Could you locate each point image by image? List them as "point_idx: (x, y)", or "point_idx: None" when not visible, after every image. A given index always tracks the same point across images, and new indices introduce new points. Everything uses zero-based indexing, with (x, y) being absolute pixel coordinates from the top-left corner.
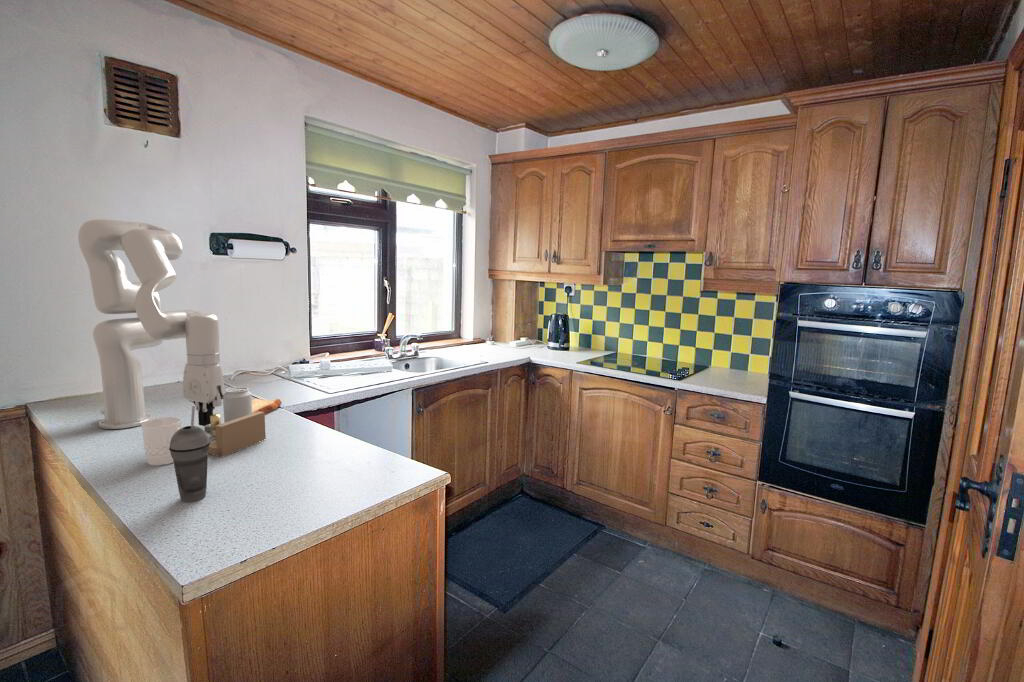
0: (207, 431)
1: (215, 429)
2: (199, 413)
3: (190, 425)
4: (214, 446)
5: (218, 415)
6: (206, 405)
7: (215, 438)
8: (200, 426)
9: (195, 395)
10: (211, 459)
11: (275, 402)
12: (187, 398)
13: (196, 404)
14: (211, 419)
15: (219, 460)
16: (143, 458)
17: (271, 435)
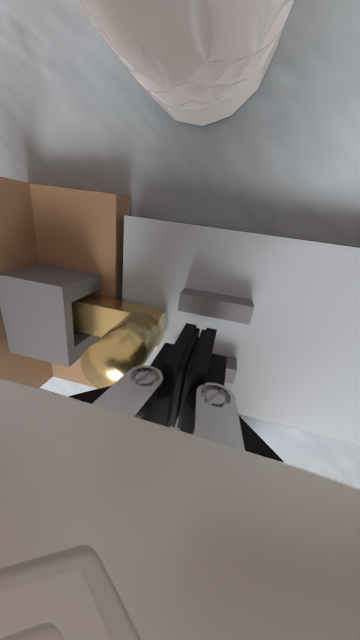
0: (221, 355)
1: (125, 315)
2: (194, 362)
3: (353, 411)
4: (54, 200)
5: (81, 364)
6: (95, 400)
7: (127, 288)
8: (296, 404)
9: (99, 516)
10: (40, 145)
11: None
12: (337, 492)
13: (226, 430)
14: (115, 334)
15: (9, 147)
16: (343, 10)
17: (63, 388)
